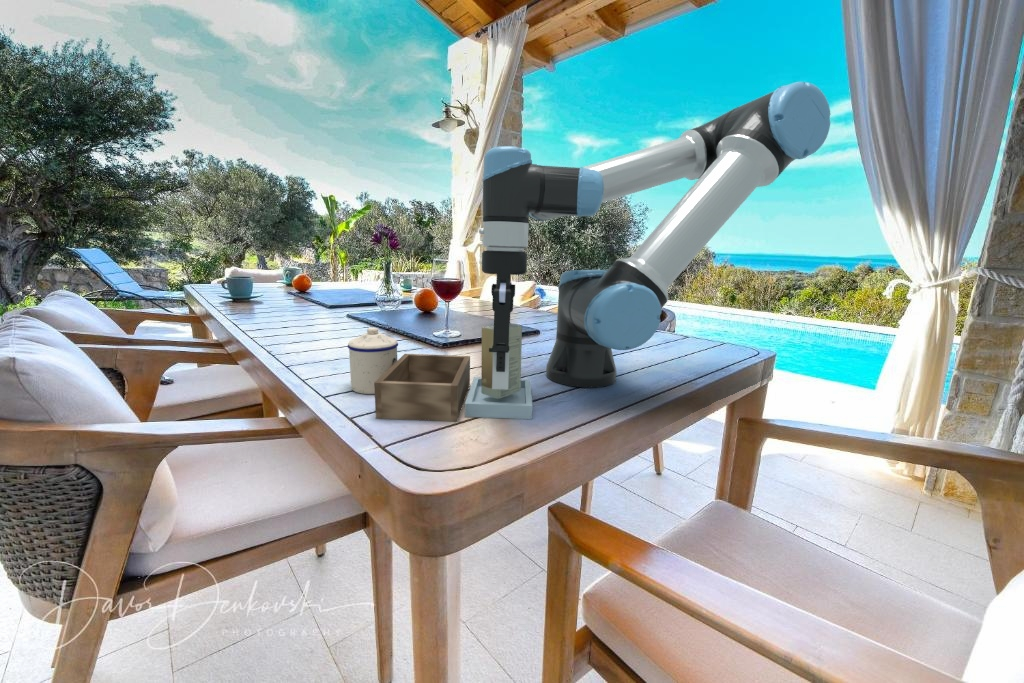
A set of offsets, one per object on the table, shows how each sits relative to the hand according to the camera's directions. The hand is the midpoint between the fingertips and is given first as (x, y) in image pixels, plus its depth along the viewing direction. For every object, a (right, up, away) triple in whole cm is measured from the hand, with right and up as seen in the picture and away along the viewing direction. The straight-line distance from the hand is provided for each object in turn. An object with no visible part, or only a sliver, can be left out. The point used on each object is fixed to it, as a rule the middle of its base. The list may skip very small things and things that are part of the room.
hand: (501, 381), depth 74 cm
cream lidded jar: (-25, -2, +8) cm, 26 cm away
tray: (0, -4, +1) cm, 4 cm away
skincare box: (0, -2, 0) cm, 2 cm away
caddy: (-13, -4, +1) cm, 14 cm away
